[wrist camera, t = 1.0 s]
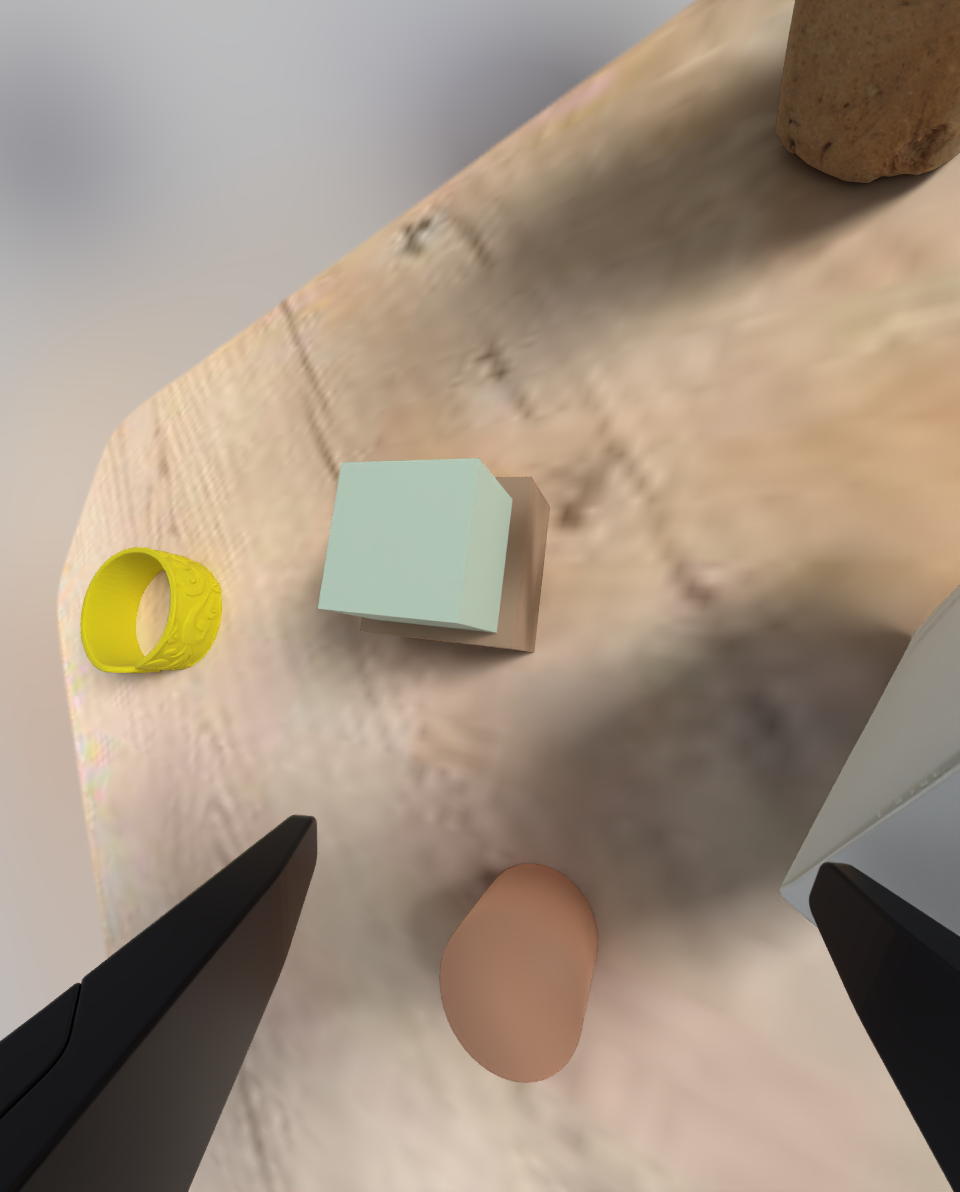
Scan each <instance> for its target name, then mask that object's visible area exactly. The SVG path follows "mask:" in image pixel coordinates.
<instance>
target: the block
mask: <svg viewBox="0 0 960 1192" xmlns="http://www.w3.org/2000/svg"><path fill="white" fill-rule="evenodd" d="M776 132H777V135H778V137H779V139H780V142H781V144H782V146H783V147H784V148H785V149H787V150H788V151H789V152H790V153H796V154H797V155H798V156H799V157H800V158H801V159H802V160H804V161H805V162H806V163H807V164H809V165H811V166H812V167H814V168H816V169H817V170H820V171H822V172H824V173H826V174H829V175H831V176H834V177H836V178H839V179H841V180H844V181H853V182H862V183H869V182H871V181H873V180H875V179H877V178H879V177H881V176H890V177H892V176H896V175H900V174H914V175H919V174H922V173H925V172H928V171H932V170H934V169H936V168H938V167H939V166H941V165H943V164H945V163H946V162H948V161H950V160H951V159H953V158H954V157H955V156H956V155H957V154H959V153H960V0H795V5H794V10H793V15H792V21H791V26H790V32H789V38H788V43H787V50H786V56H785V63H784V69H783V76H782V82H781V91H780V98H779V104H778V112H777V122H776Z"/></svg>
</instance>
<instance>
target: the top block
mask: <svg viewBox="0 0 960 1192" xmlns="http://www.w3.org/2000/svg"><path fill="white" fill-rule="evenodd" d="M512 500H513V499H512V498H511V497H510V496H509V494H508V493H507V492H506V491H505V489H504V488H503V487H502V486H501V485H500V483H499V482H498V481H497V480H496V478H495V477H494V476H493V475H492V473H491V472H490V471H489V470H488V469H487V467H486V466H485V465H484V464H483V462H482V461H481V460H480V459H479V458H470V459H438V460H407V461H376V462H345V463H341V469H340V475H339V481H338V487H337V493H336V499H335V505H334V512H333V518H332V524H331V530H330V536H329V542H328V548H327V554H326V561H325V567H324V573H323V579H322V585H321V591H320V597H319V604H318V609H322V610H327V611H332V612H338V613H343V614H348V615H354V616H359V617H364V618H369V619H375V620H381V621H391V622H400V623H409V624H419V625H428V626H437V627H447V628H456V629H465V630H474V631H484V632H493V633H497V626H498V618H499V610H500V601H501V593H502V584H503V576H504V567H505V559H506V550H507V542H508V534H509V525H510V517H511V508H512Z"/></svg>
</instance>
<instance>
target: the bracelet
mask: <svg viewBox="0 0 960 1192" xmlns="http://www.w3.org/2000/svg"><path fill="white" fill-rule="evenodd" d="M162 570H165V571H166V574H167V576H168V579H169V584H170V591H171V603H170V612H169V617H168V622H167V625H166V628H165V631H164V633H163V635H162V637H161V639H160V641H159V643H158V644H157V646H156V647H155V648H154V649H153V650H152V651H151V652H150V653H149V654H148V655H147V656H146V657H144V655H143V653H142V652H141V650H140V647H139V644H138V641H137V637H136V616H137V611H138V607H139V603H140V600H141V597H142V595H143V593H144V591H145V589H146V588H147V586H148V585H149V583H150V582H151V581H152V579H153V578H154V577H155V576H156V575H157V574H158V573H159V572H161V571H162ZM221 613H222V601H221V588H220V585H219V583H217V581H216V579H215V577H214V576H213V574H212V573H211V572H210V571H209V570H208V569H207V568H206V567H205V566H203V565H202V564H200V563H198V562H196V561H192V560H190V559H189V558H187V557H184V556H180V555H174V554H171V553H168V552H164V551H158V550H153V549H149V548H145V547H143V548H138V547H135V548H129V549H125V550H123V551H121V552H119V553H117V554H115V555H113V556H112V557H111V558H109V559H108V560H107V561H106V562H105V563H104V564H103V565H102V566H101V567H100V569H99V570H98V571H97V573H96V574H95V576H94V577H93V579H92V581H91V583H90V585H89V587H88V590H87V592H86V595H85V598H84V602H83V607H82V612H81V639H82V643H83V646H84V649H85V652H86V654H87V657H88V658H89V660H90V661H91V663H92V664H93V665H94V666H95V667H96V668H98V669H99V670H101V671H104V672H113V673H126V672H127V673H148V672H160V670H179V669H186V668H189V667H191V666H193V665H194V664H196V663H197V662H199V661H200V660H201V659H202V658H203V657H204V656H205V655H206V654H207V652H208V651H209V650H210V648H211V646H212V644H213V642H214V640H215V638H216V635H217V632H218V629H219V625H220V621H221Z"/></svg>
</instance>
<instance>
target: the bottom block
mask: <svg viewBox="0 0 960 1192" xmlns="http://www.w3.org/2000/svg"><path fill="white" fill-rule="evenodd" d="M495 478H496V480H497V481H498V482H499V483H500V485H501V486H502V487H503V488H504V489H505V491H506V492H507V493H508V494H509V496H510V497H511V498H512V499H513V500H512V508H511V517H510V525H509V534H508V542H507V550H506V559H505V567H504V576H503V584H502V593H501V601H500V610H499V618H498V626H497V633H493V632H484V631H474V630H465V629H456V628H447V627H437V626H428V625H419V624H409V623H400V622H391V621H381V620H375V619H369V618H364V617H362V624H361V630H360V631H366V632H373V633H380V634H387V635H394V636H401V637H409V638H417V639H426V640H434V641H442V642H451V643H459V644H468V645H476V646H484V647H493V648H501V649H510V650H518V651H526V652H534V649H535V640H536V631H537V622H538V613H539V603H540V594H541V585H542V576H543V567H544V557H545V548H546V539H547V530H548V521H549V511H550V506H549V504H548V503H547V501H546V499H545V498H544V496H543V495H542V493H541V491H540V490H539V488H538V487H537V485H536V483H535V482H534V480H533V478H532V477H495Z"/></svg>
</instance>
